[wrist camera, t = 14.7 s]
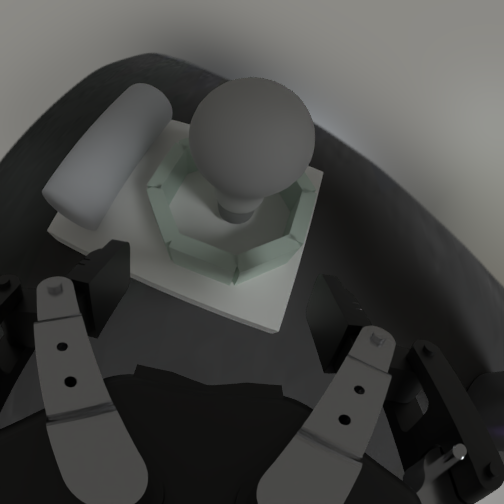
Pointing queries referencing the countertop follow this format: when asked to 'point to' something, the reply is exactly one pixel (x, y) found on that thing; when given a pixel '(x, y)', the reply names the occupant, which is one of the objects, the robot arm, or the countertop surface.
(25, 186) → the countertop surface
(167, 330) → the countertop surface
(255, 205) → the lightbulb
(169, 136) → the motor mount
